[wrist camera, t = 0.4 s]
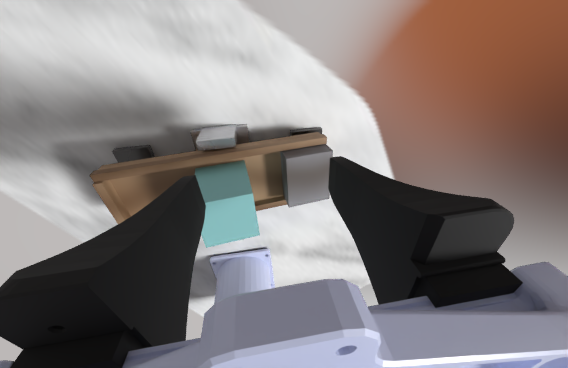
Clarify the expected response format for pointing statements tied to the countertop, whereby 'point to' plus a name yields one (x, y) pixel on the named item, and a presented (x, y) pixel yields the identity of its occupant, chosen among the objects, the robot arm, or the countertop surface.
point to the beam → (257, 155)
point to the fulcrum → (203, 141)
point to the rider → (227, 203)
